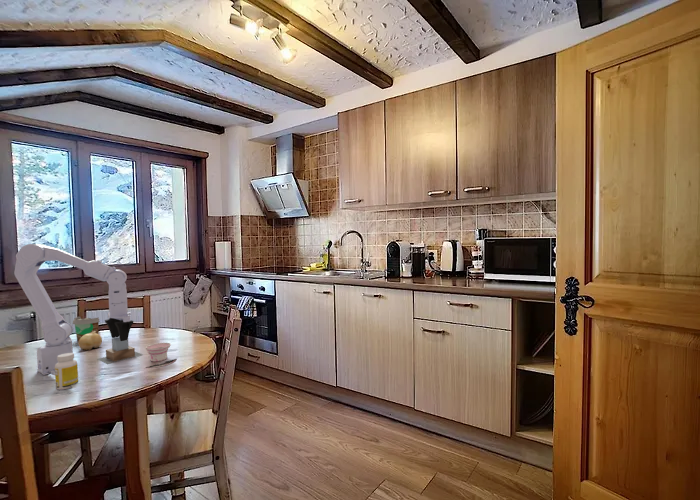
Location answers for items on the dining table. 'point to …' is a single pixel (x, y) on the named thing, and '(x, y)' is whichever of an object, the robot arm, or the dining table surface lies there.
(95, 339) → the tan round lump
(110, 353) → the walnut slab
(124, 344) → the gray cube
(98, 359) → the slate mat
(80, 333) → the food container
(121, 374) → the dining table surface
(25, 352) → the dining table surface
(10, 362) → the dining table surface
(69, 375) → the supplement bottle
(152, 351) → the teacup
